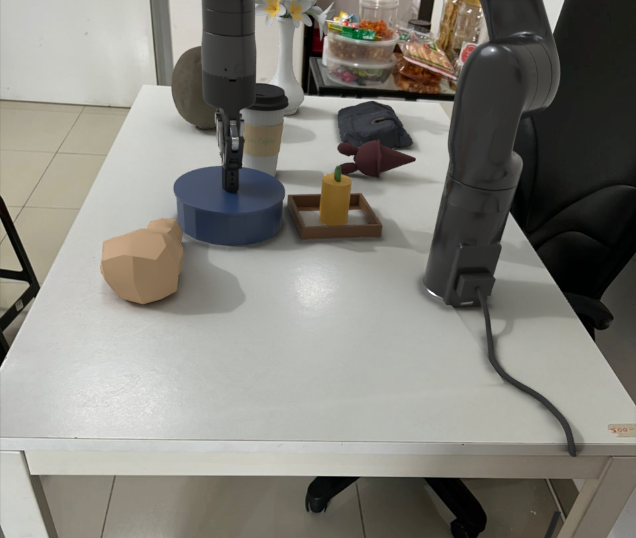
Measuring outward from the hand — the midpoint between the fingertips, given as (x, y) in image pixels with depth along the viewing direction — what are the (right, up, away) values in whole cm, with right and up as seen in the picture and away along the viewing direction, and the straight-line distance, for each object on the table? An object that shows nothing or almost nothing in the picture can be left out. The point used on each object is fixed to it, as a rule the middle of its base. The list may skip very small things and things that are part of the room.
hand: (230, 186), depth 101 cm
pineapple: (+16, -3, +7) cm, 18 cm away
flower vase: (+6, +33, +48) cm, 59 cm away
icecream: (+24, +10, +24) cm, 36 cm away
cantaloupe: (-10, +25, +37) cm, 45 cm away
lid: (0, -1, +1) cm, 1 cm away
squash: (-10, -16, -9) cm, 21 cm away
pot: (-1, -5, +4) cm, 6 cm away
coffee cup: (+3, +8, +20) cm, 22 cm away
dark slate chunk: (+26, +26, +42) cm, 56 cm away
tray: (+16, -4, +7) cm, 18 cm away
